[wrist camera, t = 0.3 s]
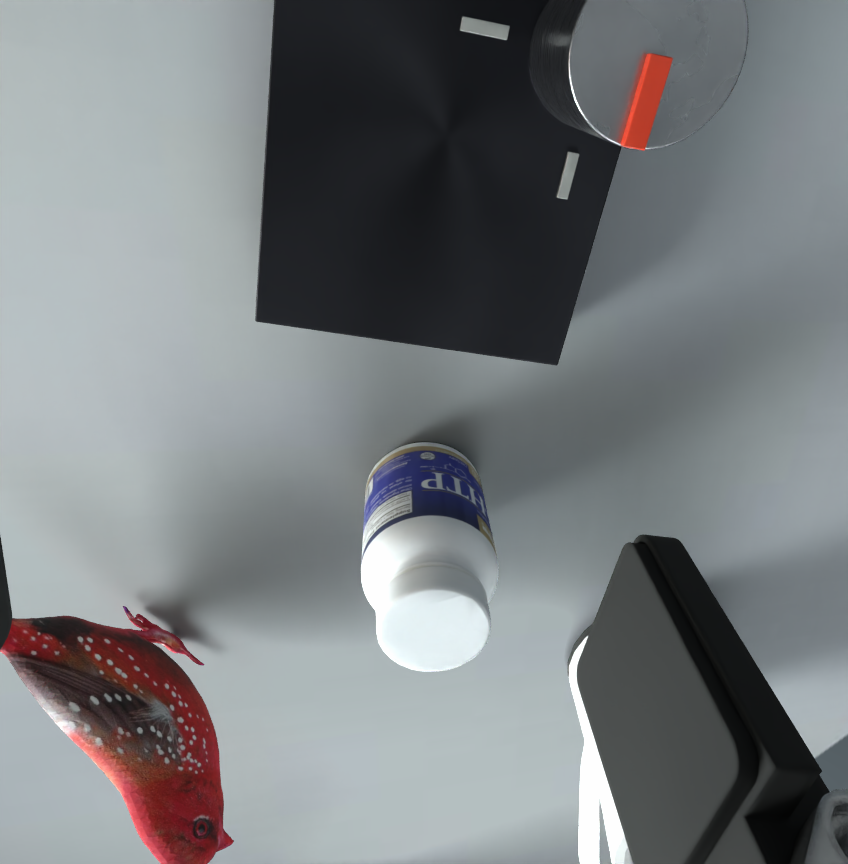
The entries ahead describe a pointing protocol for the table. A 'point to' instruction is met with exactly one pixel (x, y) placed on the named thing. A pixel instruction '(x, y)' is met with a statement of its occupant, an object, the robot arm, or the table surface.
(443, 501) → the pill bottle
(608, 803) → the mug
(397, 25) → the panel
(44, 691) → the decorative bird figurine
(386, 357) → the table surface
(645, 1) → the hob knob
